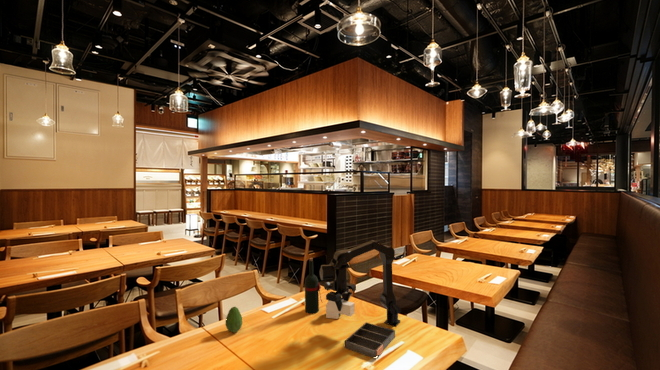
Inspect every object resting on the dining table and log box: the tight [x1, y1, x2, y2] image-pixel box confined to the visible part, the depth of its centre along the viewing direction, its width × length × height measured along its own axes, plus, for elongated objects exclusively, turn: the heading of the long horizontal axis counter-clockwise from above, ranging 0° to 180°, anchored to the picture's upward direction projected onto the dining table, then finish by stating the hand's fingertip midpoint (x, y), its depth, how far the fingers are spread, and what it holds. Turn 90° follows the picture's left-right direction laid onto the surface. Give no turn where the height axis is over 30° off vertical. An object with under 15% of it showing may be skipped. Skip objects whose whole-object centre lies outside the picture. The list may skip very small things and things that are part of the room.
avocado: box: [225, 306, 243, 333], centre depth 142 cm, size 8×8×12 cm
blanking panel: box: [329, 300, 356, 317], centre depth 140 cm, size 4×12×5 cm, turn 55°
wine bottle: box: [304, 257, 323, 315], centre depth 164 cm, size 8×10×30 cm
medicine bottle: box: [325, 300, 342, 320], centre depth 157 cm, size 7×7×12 cm
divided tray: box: [343, 321, 396, 359], centre depth 130 cm, size 20×16×3 cm
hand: (341, 309), depth 140 cm, fingers closed on blanking panel, 4 cm apart
